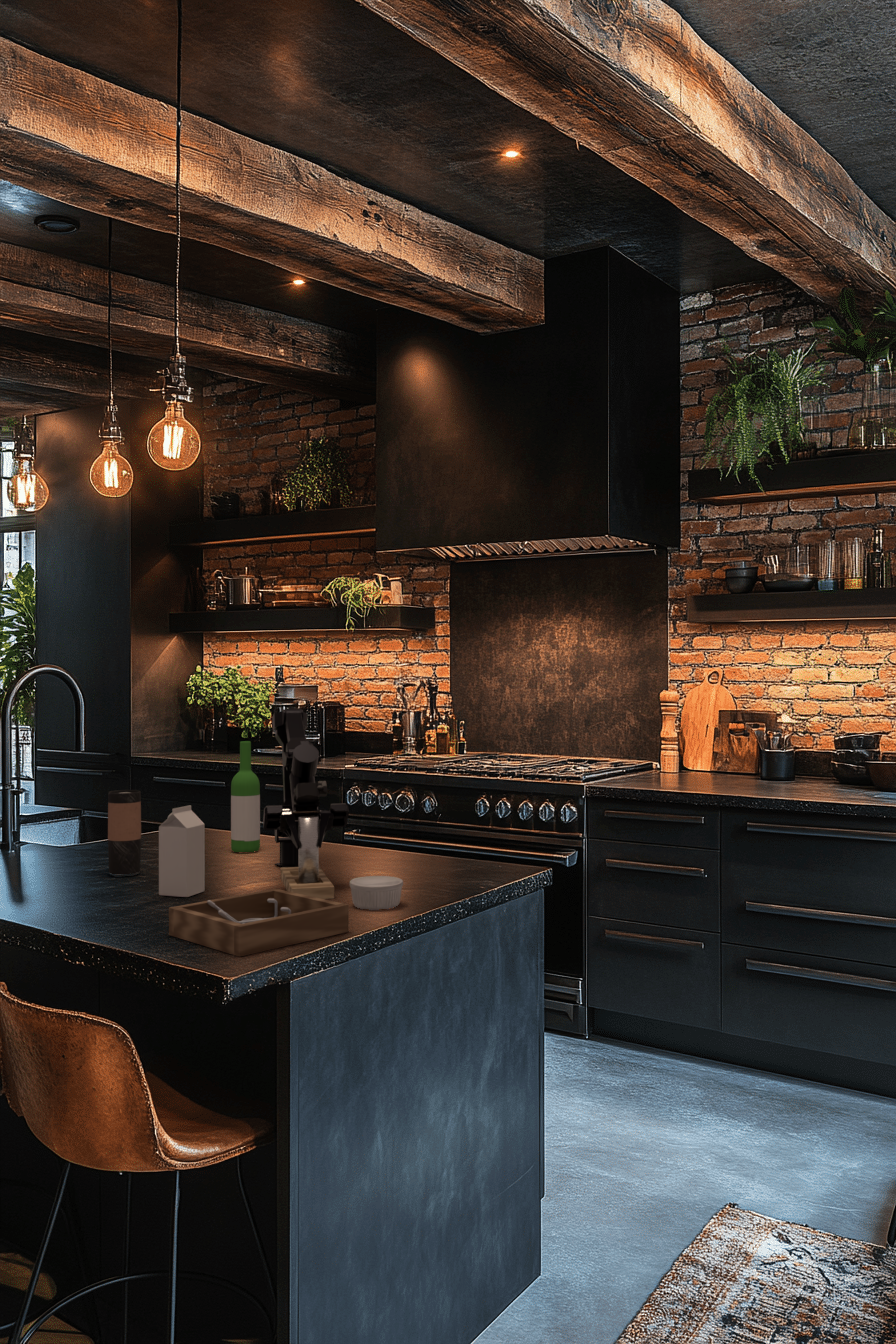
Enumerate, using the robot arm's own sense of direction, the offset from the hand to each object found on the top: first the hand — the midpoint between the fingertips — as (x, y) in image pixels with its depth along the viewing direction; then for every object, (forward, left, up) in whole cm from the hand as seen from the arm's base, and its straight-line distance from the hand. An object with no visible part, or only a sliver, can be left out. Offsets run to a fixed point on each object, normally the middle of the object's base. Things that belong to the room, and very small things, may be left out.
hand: (309, 847), depth 231 cm
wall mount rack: (+19, -30, -11) cm, 37 cm away
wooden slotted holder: (-5, +3, -10) cm, 12 cm away
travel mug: (-50, -16, -10) cm, 54 cm away
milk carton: (-20, -19, -10) cm, 30 cm away
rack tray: (+22, -29, -10) cm, 38 cm away
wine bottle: (-57, +24, -10) cm, 63 cm away
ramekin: (+20, +2, -10) cm, 23 cm away
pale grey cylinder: (-1, +1, -8) cm, 8 cm away
